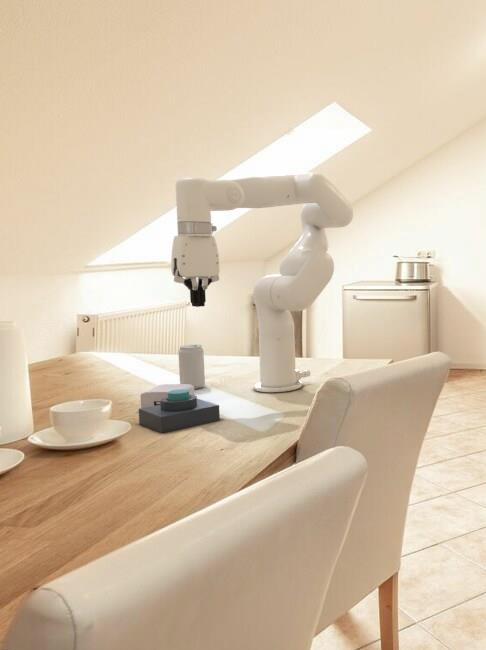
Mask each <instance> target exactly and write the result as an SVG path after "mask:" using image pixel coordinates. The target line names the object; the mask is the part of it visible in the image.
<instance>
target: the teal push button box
mask: <svg viewBox="0 0 486 650" xmlns="http://www.w3.org/2000/svg"><path fill="white" fill-rule="evenodd" d="M160 403H161V405H156V406H151V407H145V408H141V407H140V408H138V424H139V425H141V426H144V427H146V428H148V429H150V430H153V431H157V432H158V433H161V434H164V433H168V432H172V431H176V430H181V429H186V428H191V427H195V426H200V425H204V424H209V423H212V422H218V421H220V420H221V418H220V417H221V416H220V404H217V403H213V402H211V401H210V402H209V401H206V400H204V399H200V398H198V396H197V395H196V394H194V395H190V398H189V399H186V400H181V401H168V397H165V398H162V399H161V401H160Z"/></svg>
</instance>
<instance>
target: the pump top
mask: <svg viewBox="0 0 486 650" xmlns="http://www.w3.org/2000/svg"><path fill="white" fill-rule="evenodd" d="M189 398H190V395H189V390H186V389H179V390H172V391H169V392H168V401H181V400H186V399H189Z"/></svg>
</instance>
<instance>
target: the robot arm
mask: <svg viewBox="0 0 486 650" xmlns="http://www.w3.org/2000/svg"><path fill="white" fill-rule="evenodd" d="M175 202H176V204H175V205H176V221H177V222H176V224H177V226H176V227H177V235H174V236H173V240H172V246H171V260H170V261H171V262H170V264H171V265H170V266H171V267H170V268H171V269H170V270H171V275H172V276H173V282H174V283H176V284H177V283H178V284H182V285H184V286H185V287H186V288H187V290H189V298H190V300H189V301H190V304H191V306H192V307H196V308H200V307H205V305H206V304H205V303H206V301H207V299H206V290H207V289H208V287H209V286H210V285H211V283H215V282H218V281H220V276H219V274H220V268H221V267H220V266H221V265H220V256H219V250H218V245H217V241H216V237H215V236H214V235H213V233H214V232H216V231H217V229H218V228H217V226H216V225H213V222H212V212H227V211H234V210H236V209H265V208H266V209H267V208H276V207H283V206H293V205H294V206H295V205H302V204H303V206H302V207H301V210H300V221H301V227H302V233H301V235H300V238H299V240H298V241H297V242H296V243H295V244H294V245H293V246H292V247H291V248H290V250H289V251H288V253H286V255H284V257H283V258H282V260H281V262H280V264H279V269H278V270H279V274H271V275H270V274H269V275H266V276H265V275H264V276H262V277H261V278H259V279H258V280H257V281H256V282H255V284H254V287H253V291H252V293H253V301H254V305H255V309H256V314H257V325H258V349H259V350H258V351H259V377H260V379H259V380H260V382H257V383H255V384H254V390H255V391H257V392H259V393H260V392H261V393H285V392H291V391H295V390H298V389H300V388H302V386H303V384H302V383H303V382H302V381H301V379H302V378H308V377H310V376H311V370H309V369H306V370H300V369H297V367H296V339H295V337H296V336H295V322H294V321H295V320H294V319H293V316H292V313H291V312H302V311H305V310H306V309H308V308H310V307H311V306H312V305H313V303H315V301H316V300H317V299H318V298H319V296H320V295H321V294H322V293H323V291H324V290H325V289H326V287H327V286H328V284H329V283H330V282H331V280H332V279H333V275H334V271H335V262H334V260H333V257H332V255H331V254H330V253H328V250H329V240H328V237H327V232H326V229H331V228H332V229H334V228H335V229H336V228H338V229H339V228H345V227H347V226H349V225H350V224H351V223H352V221H353V218H354V210H353V207H352V204H351V203H350V201H349V200H348V199H347V197H346V196H345V195H344V194H343V193H342V192H341V190H339V189H338V188H337V186H336V185H334V184H333V183H332V182H331V180H329V179H328V178H327V177H326V176H325V175H323V174H321V173H319V172H316V171H315V172H302V173H289V174H288V173H287V174H286V173H285V174H283V173H282V174H267V175H255V176H249V177H243V178H236V179H217V180H216V179H214V180H213V179H205V178H200V177H180V178H178V179H177V180H176V181H175Z"/></svg>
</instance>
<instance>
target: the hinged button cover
mask: <svg viewBox="0 0 486 650" xmlns="http://www.w3.org/2000/svg"><path fill="white" fill-rule="evenodd" d="M179 389H186V390H189V395H195V389H194V386H193V385H190V384H180V383H172V384H171V383H169V384H167V383H165V384H164V383H163V384H159V385H156V386H154V387H153V388H150V389H148V390H146V391H144V392H142V393H141V394H140V408H145V407H151V406H156V405H161V403H160V401H161V399H162V398H165V397H168V392H169V391H172V390H179Z"/></svg>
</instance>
